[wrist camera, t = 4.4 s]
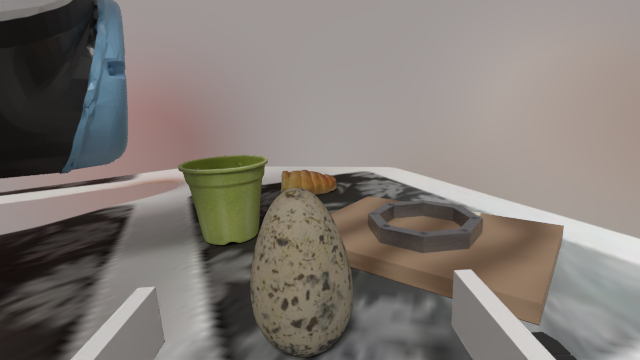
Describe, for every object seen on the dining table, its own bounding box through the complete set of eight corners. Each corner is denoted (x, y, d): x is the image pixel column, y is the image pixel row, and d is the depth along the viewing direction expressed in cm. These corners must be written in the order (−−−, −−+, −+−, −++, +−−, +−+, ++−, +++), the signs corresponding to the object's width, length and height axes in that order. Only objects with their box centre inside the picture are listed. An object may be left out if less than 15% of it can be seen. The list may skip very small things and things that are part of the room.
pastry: (334, 185, 61) (333, 164, 61) (339, 195, 55) (338, 172, 54) (281, 189, 61) (279, 167, 60) (280, 200, 54) (278, 176, 53)
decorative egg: (375, 347, 21) (373, 186, 18) (295, 405, 17) (280, 213, 15) (313, 305, 25) (305, 172, 23) (239, 344, 22) (221, 190, 19)
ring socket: (352, 236, 34) (352, 221, 33) (398, 208, 41) (399, 196, 41) (458, 262, 28) (459, 244, 27) (489, 224, 35) (490, 209, 35)
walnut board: (288, 247, 35) (287, 232, 35) (368, 206, 48) (368, 194, 47) (539, 325, 22) (541, 301, 22) (562, 240, 34) (564, 223, 34)
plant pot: (229, 218, 46) (222, 153, 44) (288, 226, 41) (283, 155, 39) (170, 244, 38) (158, 167, 36) (236, 259, 33) (226, 172, 31)
